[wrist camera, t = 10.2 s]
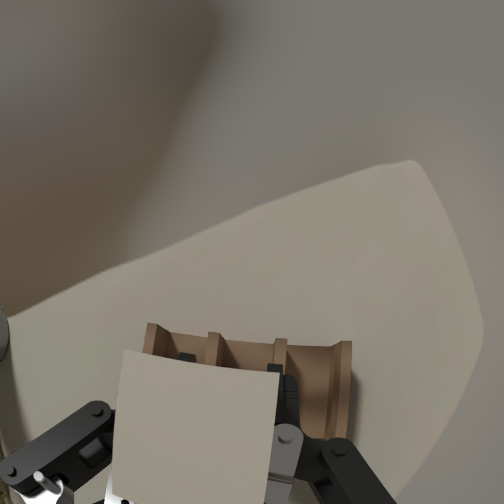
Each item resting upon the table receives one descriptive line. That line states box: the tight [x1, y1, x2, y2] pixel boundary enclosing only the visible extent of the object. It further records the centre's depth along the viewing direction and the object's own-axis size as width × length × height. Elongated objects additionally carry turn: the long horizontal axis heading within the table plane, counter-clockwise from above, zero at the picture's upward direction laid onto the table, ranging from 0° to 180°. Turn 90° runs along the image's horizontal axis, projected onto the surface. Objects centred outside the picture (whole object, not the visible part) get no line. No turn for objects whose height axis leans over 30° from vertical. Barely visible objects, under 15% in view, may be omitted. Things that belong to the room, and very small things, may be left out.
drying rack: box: [143, 323, 352, 441], centre depth 23 cm, size 10×19×5 cm, turn 85°
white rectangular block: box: [112, 348, 280, 504], centre depth 11 cm, size 4×4×14 cm
